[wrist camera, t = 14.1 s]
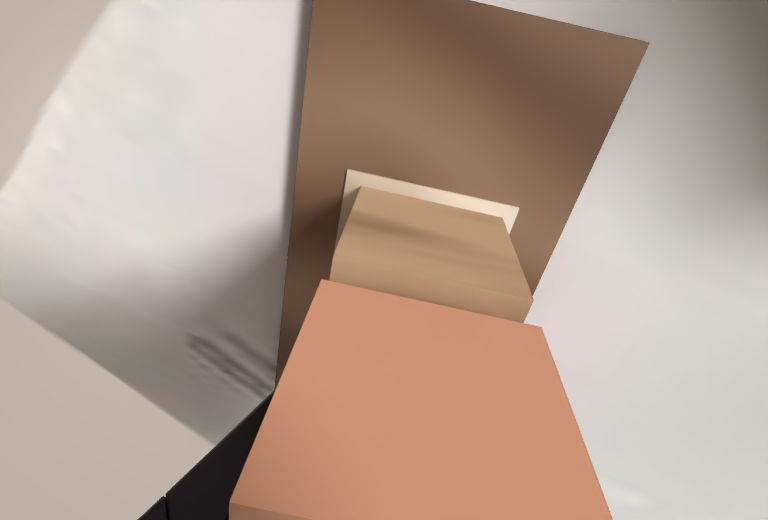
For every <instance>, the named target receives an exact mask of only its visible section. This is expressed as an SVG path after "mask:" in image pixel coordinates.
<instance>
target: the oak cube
mask: <svg viewBox="0 0 768 520" xmlns="http://www.w3.org/2000/svg"><path fill="white" fill-rule="evenodd" d="M329 281H333V282H337V283H342V284H346V285H351V286H355V287H360V288H365V289H369V290H374V291H378V292H383V293H387V294H392V295H397V296H401V297H406V298H410V299H415V300H419V301H424V302H429V303H433V304H438V305H442V306H447V307H451V308H456V309H461V310H465V311H470V312H474V313H479V314H483V315H488V316H492V317H497V318H502V319H506V320H511V321H515V322H520V323H523V322H524V320H525V318H526V316H527V314H528V312H529V309H530V307H531V305H532V303H533V301H534V299H533V297H532V294H531V291H530V289H529V286H528V283H527V281H526V278H525V276H524V273H523V270H522V268H521V265H520V262H519V260H518V257H517V254H516V252H515V249H514V247H513V244H512V241H511V239H510V236H509V233H508V231H507V228H506V225H505V223H504V220H503V218H502V217H497V216H493V215H489V214H484V213H480V212H475V211H471V210H467V209H462V208H458V207H453V206H449V205H444V204H440V203H436V202H431V201H427V200H422V199H418V198H414V197H409V196H405V195H400V194H396V193H391V192H387V191H383V190H378V189H374V188H369V187H365V186H361V188H360V191H359V193H358V195H357V198H356V200H355V203H354V205H353V208H352V210H351V213H350V215H349V218H348V220H347V223H346V225H345V228H344V230H343V233H342V235H341V238H340V240H339V243H338V245H337V248H336V250H335V253H334V255H333V261H332V267H331V273H330V279H329Z"/></svg>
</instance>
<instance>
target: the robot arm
mask: <svg viewBox="0 0 768 520" xmlns="http://www.w3.org/2000/svg"><path fill="white" fill-rule="evenodd" d="M275 390H276V389H275ZM275 390H274V391H273V392H272V393H271V394H270V395H269V396H268V397H267V398H266V399H265V400H264V401H262V402H261V403H260V404H259V405H258V406H257V407H256V408H255V409H254V410H253V411H252V412H251V413H250V414H249V415H248V416H247V417H246V418H245V419H244V420H242V421H241V422H240V423H239V424H238V425H237V426H236V427H235V428H234V429H233V430H232V431H231V432H230V433H229V434H228V435H227V436H226V437H225V438H224V439H223V440H221V441H220V442H219V443H218V444H217V445H216V446H215V447H214V448H213V449H212V450H211V451H210V452H209V453H208V454H207V455H206V456H205V457H204V458H203V459H202V460H200V461H199V462H198V463H197V464H196V465H195V466H194V467H193V468H192V469H191V470H190V471H189V472H188V473H187V474H186V475H185V476H184V477H183V478H182V479H180V480H179V481H178V482H177V483H176V484H175V485H174V486H173V487H172V488H171V489H170V490H169V491H168V492H167V493H166V497H164V496H163V497H161V498H160V499H159V500H158V501H157V502H156V503H155V504H154V505H153V506H152V507H151V508H150V509H149V510H148V511H147V512H146V513H145V514H143V515H142V516H141V517H140V518H139V519H138V520H229V502H230V499H231V497H232V494H233V492H234V490H235V487H236V485H237V482H238V480H239V477H240V475H241V473H242V470H243V468H244V465H245V463H246V461H247V458H248V456H249V453H250V451H251V448H252V446H253V444H254V441H255V439H256V436H257V434H258V432H259V429H260V427H261V424H262V422H263V419H264V417H265V415H266V412H267V410H268V407H269V405H270V403H271V400H272V398H273V395H274V393H275Z"/></svg>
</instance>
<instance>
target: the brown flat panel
mask: <svg viewBox="0 0 768 520" xmlns="http://www.w3.org/2000/svg"><path fill="white" fill-rule="evenodd" d="M648 45H649V42H645V41H641V40H637V39H632V38H628V37H624V36H620V35H615V34H611V33H607V32H603V31H598V30H594V29H590V28H585V27H581V26H577V25H573V24H568V23H564V22H560V21H556V20H551V19H547V18H543V17H539V16H534V15H530V14H526V13H522V12H517V11H513V10H509V9H504V8H500V7H496V6H492V5H487V4H483V3H479V2H475V1H470V0H313V6H312V17H311V27H310V37H309V47H308V57H307V67H306V77H305V87H304V97H303V107H302V117H301V128H300V138H299V148H298V158H297V168H296V178H295V188H294V198H293V208H292V218H291V229H290V239H289V249H288V259H287V269H286V279H285V289H284V299H283V309H282V319H281V330H280V340H279V350H278V360H277V370H276V380H275V389H276V388H277V386H278V383H279V381H280V378H281V376H282V373H283V371H284V369H285V366H286V364H287V361H288V359H289V357H290V354H291V352H292V349H293V347H294V344H295V342H296V340H297V337H298V335H299V332H300V330H301V328H302V325H303V323H304V320H305V318H306V315H307V313H308V311H309V308H310V306H311V303H312V301H313V299H314V296H315V294H316V291H317V289H318V286H319V284H320V282H321V279H324V280H328V281H329V279H330V273H331V267H332V261H333V255H334V253H335V250H336V248H337V245H338V243H339V240H340V238H341V235H342V233H343V230H344V228H345V225H346V223H347V220H348V218H349V215H350V213H351V210H352V208H353V205H354V203H355V200H356V198H357V195H358V193H359V191H360V188H361V186H365V187H369V188H374V189H378V190H383V191H387V192H391V193H396V194H400V195H405V196H409V197H414V198H418V199H422V200H427V201H431V202H436V203H440V204H444V205H449V206H453V207H458V208H462V209H467V210H471V211H475V212H480V213H484V214H489V215H493V216H497V217H502V218H503V220H504V223H505V225H506V228H507V231H508V233H509V236H510V239H511V241H512V244H513V247H514V249H515V252H516V254H517V257H518V260H519V262H520V265H521V268H522V270H523V273H524V276H525V278H526V281H527V283H528V286H529V289H530V291H531V294H532V296H533V294H534V292H535V289H536V287H537V285H538V283H539V281H540V279H541V276H542V274H543V272H544V270H545V268H546V266H547V263H548V261H549V259H550V257H551V255H552V253H553V251H554V248H555V246H556V244H557V242H558V240H559V238H560V235H561V233H562V231H563V229H564V227H565V225H566V222H567V220H568V218H569V216H570V214H571V212H572V209H573V207H574V205H575V203H576V201H577V199H578V196H579V194H580V192H581V190H582V188H583V186H584V183H585V181H586V179H587V177H588V175H589V173H590V170H591V168H592V166H593V164H594V162H595V160H596V157H597V155H598V153H599V151H600V149H601V147H602V144H603V142H604V140H605V138H606V136H607V134H608V132H609V129H610V127H611V125H612V123H613V121H614V119H615V116H616V114H617V112H618V110H619V108H620V106H621V103H622V101H623V99H624V97H625V95H626V93H627V90H628V88H629V86H630V84H631V82H632V80H633V77H634V75H635V73H636V71H637V69H638V67H639V64H640V62H641V60H642V58H643V56H644V54H645V51H646V49H647V47H648Z"/></svg>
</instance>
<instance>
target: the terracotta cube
mask: <svg viewBox="0 0 768 520" xmlns="http://www.w3.org/2000/svg"><path fill="white" fill-rule="evenodd" d="M229 520H613V519H612V516H611V514H610V511H609V508H608V506H607V503H606V500H605V497H604V495H603V492H602V489H601V487H600V484H599V481H598V479H597V476H596V473H595V470H594V468H593V465H592V462H591V460H590V457H589V454H588V452H587V449H586V446H585V444H584V441H583V438H582V435H581V433H580V430H579V427H578V425H577V422H576V419H575V417H574V414H573V411H572V408H571V406H570V403H569V400H568V398H567V395H566V392H565V390H564V387H563V384H562V382H561V379H560V376H559V373H558V371H557V368H556V365H555V363H554V360H553V357H552V355H551V352H550V349H549V346H548V344H547V341H546V338H545V336H544V333H543V330H542V328H541V327H538V326H534V325H529V324H524V323H520V322H515V321H511V320H506V319H502V318H497V317H492V316H488V315H483V314H479V313H474V312H470V311H465V310H461V309H456V308H451V307H447V306H442V305H438V304H433V303H429V302H424V301H419V300H415V299H410V298H406V297H401V296H397V295H392V294H387V293H383V292H378V291H374V290H369V289H365V288H360V287H355V286H351V285H346V284H342V283H337V282H333V281H328V280H324V279H321V282H320V284H319V286H318V289H317V291H316V294H315V296H314V299H313V301H312V303H311V306H310V308H309V311H308V313H307V315H306V318H305V320H304V323H303V325H302V328H301V330H300V332H299V335H298V337H297V340H296V342H295V344H294V347H293V349H292V352H291V354H290V357H289V359H288V361H287V364H286V366H285V369H284V371H283V373H282V376H281V378H280V381H279V383H278V386H277V388H276V390H275V393H274V395H273V398H272V400H271V403H270V405H269V407H268V410H267V412H266V415H265V417H264V419H263V422H262V424H261V427H260V429H259V432H258V434H257V436H256V439H255V441H254V444H253V446H252V448H251V451H250V453H249V456H248V458H247V461H246V463H245V465H244V468H243V470H242V473H241V475H240V477H239V480H238V482H237V485H236V487H235V490H234V492H233V494H232V497H231V499H230V502H229Z"/></svg>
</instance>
